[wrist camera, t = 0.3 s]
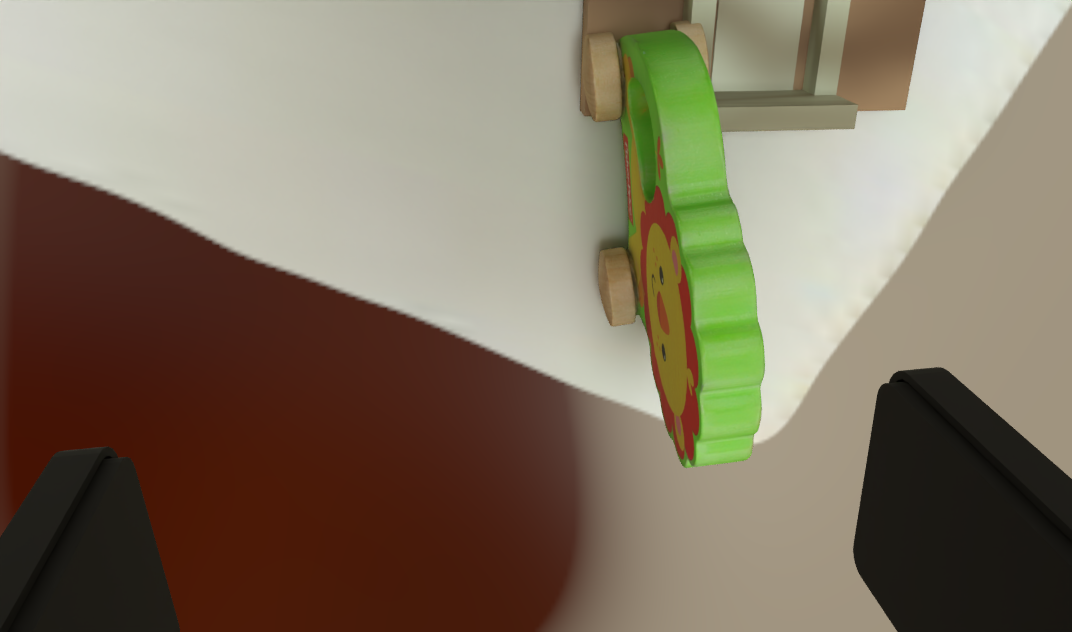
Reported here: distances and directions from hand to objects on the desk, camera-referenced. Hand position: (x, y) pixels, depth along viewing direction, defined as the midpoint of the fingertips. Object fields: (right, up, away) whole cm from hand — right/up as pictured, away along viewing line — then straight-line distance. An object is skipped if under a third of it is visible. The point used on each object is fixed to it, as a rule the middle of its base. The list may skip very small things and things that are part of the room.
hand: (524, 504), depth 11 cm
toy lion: (+5, +8, +31) cm, 32 cm away
